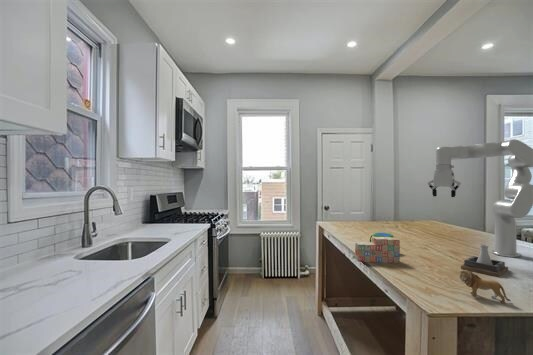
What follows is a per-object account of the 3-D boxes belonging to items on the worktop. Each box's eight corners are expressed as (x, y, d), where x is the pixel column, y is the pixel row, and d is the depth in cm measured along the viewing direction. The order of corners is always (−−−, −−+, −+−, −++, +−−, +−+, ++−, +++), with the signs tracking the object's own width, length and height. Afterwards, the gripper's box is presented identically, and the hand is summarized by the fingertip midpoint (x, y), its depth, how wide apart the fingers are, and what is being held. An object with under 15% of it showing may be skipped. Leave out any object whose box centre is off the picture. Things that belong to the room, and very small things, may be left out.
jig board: (473, 263, 142) (472, 255, 143) (508, 270, 131) (507, 261, 131) (460, 268, 133) (460, 260, 133) (497, 276, 122) (497, 267, 122)
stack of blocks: (358, 262, 144) (358, 238, 144) (355, 258, 150) (355, 236, 150) (400, 263, 143) (399, 239, 143) (395, 259, 149) (394, 236, 149)
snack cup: (367, 250, 168) (367, 233, 168) (373, 247, 176) (373, 231, 176) (394, 255, 158) (394, 237, 158) (399, 251, 166) (399, 234, 166)
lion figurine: (459, 295, 102) (459, 271, 102) (459, 290, 107) (459, 267, 107) (512, 305, 94) (511, 279, 94) (509, 299, 98) (509, 274, 99)
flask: (491, 265, 134) (491, 244, 134) (496, 269, 127) (496, 247, 127) (473, 263, 137) (473, 243, 137) (477, 267, 131) (476, 246, 131)
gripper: (463, 167, 157) (463, 197, 157) (430, 168, 171) (430, 195, 171) (457, 167, 153) (458, 197, 153) (425, 168, 167) (425, 196, 167)
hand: (443, 196), depth 162 cm, fingers open, 9 cm apart
